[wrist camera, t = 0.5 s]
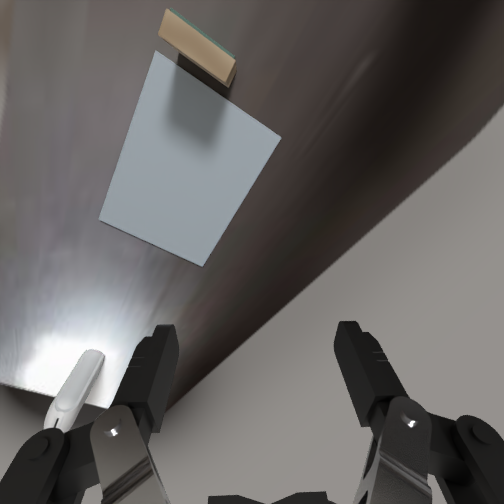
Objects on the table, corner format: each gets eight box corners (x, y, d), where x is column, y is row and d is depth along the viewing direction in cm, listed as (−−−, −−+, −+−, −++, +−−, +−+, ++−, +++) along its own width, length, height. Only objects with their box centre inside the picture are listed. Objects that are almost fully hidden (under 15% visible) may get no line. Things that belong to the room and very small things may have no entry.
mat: (156, 50, 26) (155, 50, 26) (280, 137, 31) (281, 137, 31) (99, 218, 36) (98, 219, 35) (202, 265, 40) (202, 266, 40)
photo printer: (96, 380, 54) (61, 448, 43) (75, 375, 53) (33, 443, 42) (108, 352, 50) (72, 419, 39) (85, 345, 49) (42, 413, 38)
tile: (186, 31, 26) (167, 4, 19) (237, 69, 28) (237, 57, 21) (178, 52, 27) (157, 34, 20) (228, 87, 28) (225, 82, 22)
